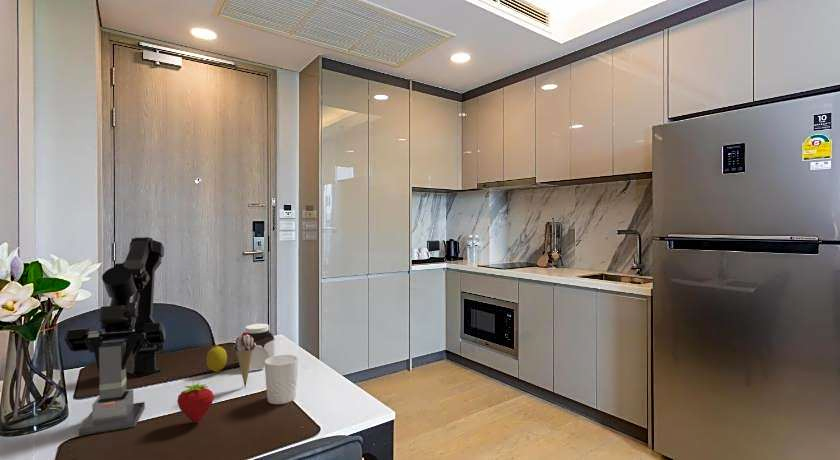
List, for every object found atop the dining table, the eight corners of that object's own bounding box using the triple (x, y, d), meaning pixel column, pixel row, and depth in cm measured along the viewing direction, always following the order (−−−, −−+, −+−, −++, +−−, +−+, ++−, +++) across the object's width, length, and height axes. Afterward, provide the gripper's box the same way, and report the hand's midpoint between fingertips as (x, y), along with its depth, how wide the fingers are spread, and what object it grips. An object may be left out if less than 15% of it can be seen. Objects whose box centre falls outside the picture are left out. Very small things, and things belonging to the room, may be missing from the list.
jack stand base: (94, 415, 99) (93, 391, 99) (144, 408, 103) (144, 385, 103) (78, 435, 90) (78, 409, 90) (135, 426, 94) (134, 401, 94)
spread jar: (264, 356, 142) (263, 321, 141) (285, 363, 135) (285, 326, 135) (229, 366, 132) (229, 329, 132) (251, 374, 125) (250, 334, 125)
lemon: (219, 376, 124) (218, 349, 123) (202, 375, 125) (201, 347, 124) (231, 370, 129) (231, 343, 129) (215, 368, 130) (214, 342, 130)
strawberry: (206, 429, 93) (205, 383, 92) (171, 429, 93) (170, 383, 92) (219, 416, 99) (218, 373, 98) (186, 416, 99) (186, 373, 98)
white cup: (304, 395, 111) (303, 356, 111) (285, 407, 103) (284, 366, 103) (278, 391, 113) (278, 353, 113) (258, 403, 106) (257, 362, 106)
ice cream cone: (261, 385, 117) (260, 330, 117) (244, 393, 112) (244, 336, 111) (245, 382, 119) (245, 328, 119) (228, 389, 114) (228, 333, 114)
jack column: (105, 392, 97) (104, 342, 97) (126, 389, 99) (125, 340, 99) (99, 399, 94) (98, 347, 93) (122, 396, 95) (121, 345, 95)
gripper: (66, 293, 96) (46, 357, 86) (162, 288, 103) (155, 347, 93) (79, 320, 103) (62, 382, 93) (168, 314, 110) (161, 371, 101)
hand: (111, 370), depth 95 cm, fingers closed on jack column, 4 cm apart
